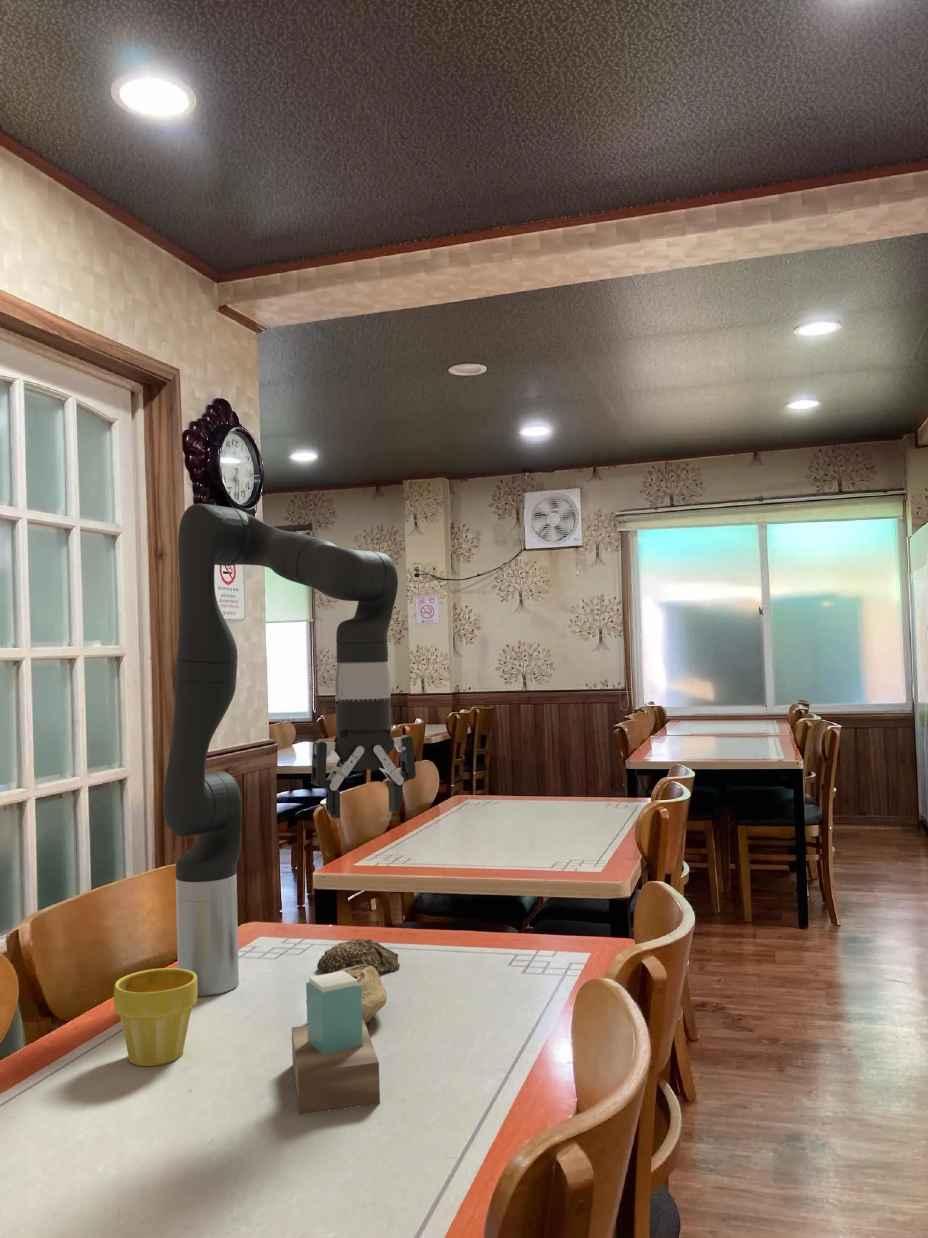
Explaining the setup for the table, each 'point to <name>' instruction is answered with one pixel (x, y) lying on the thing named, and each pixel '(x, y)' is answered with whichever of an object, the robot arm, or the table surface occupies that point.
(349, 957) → the bread roll
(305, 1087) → the brown rectangular block
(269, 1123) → the table surface
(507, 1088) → the table surface
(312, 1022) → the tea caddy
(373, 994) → the oil lamp
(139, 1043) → the plant pot
